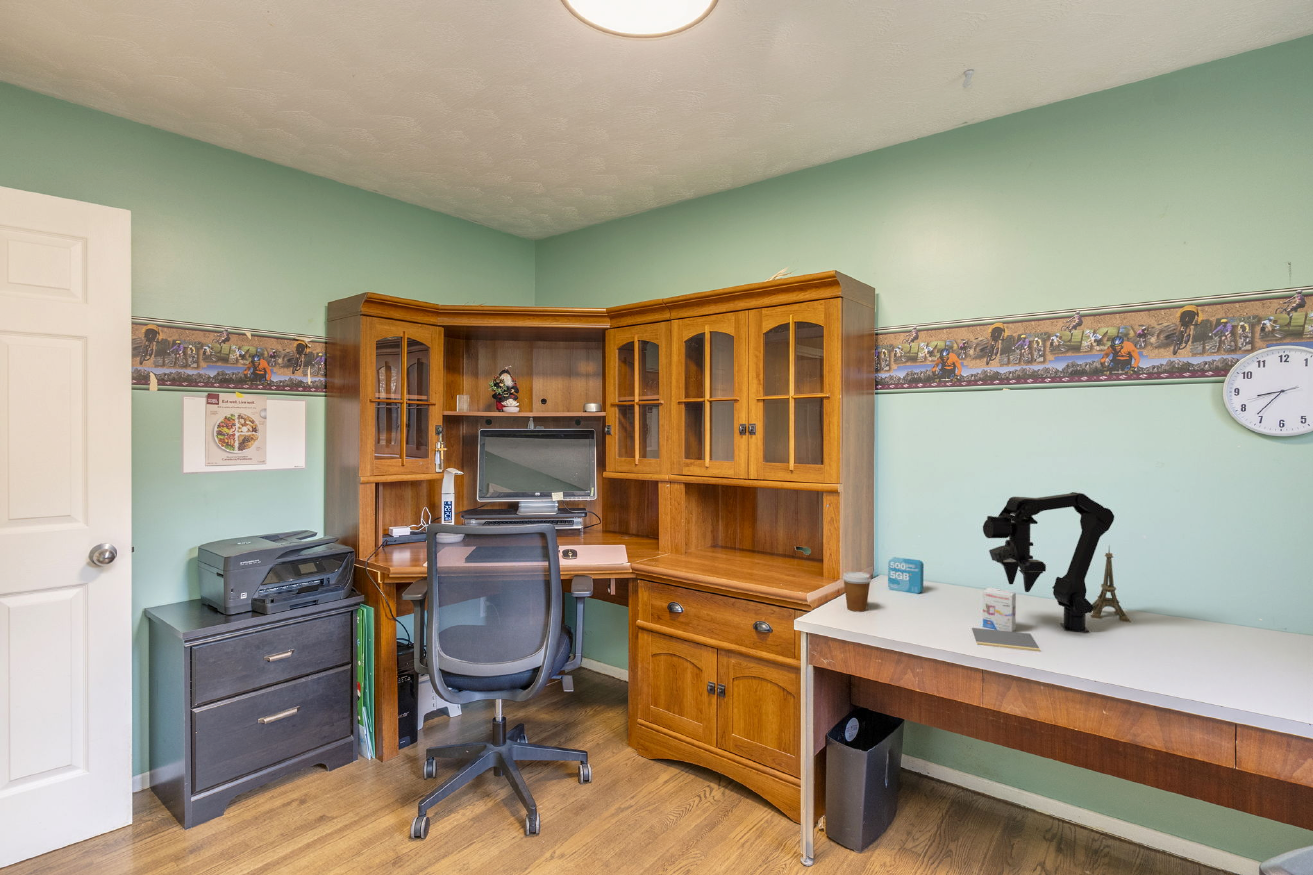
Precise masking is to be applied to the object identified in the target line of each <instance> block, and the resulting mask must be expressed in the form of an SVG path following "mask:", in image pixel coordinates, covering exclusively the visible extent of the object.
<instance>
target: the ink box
mask: <svg viewBox="0 0 1313 875" xmlns="http://www.w3.org/2000/svg"><path fill="white" fill-rule="evenodd" d="M1016 596H1017V594H1016V592H1015V591H1011V590H1006V589H998V588H994V587H986V588H984V589H983V591H982V628H984V629H990V630H1000V631H1010V632H1015V630H1016V621H1017V620H1016V616H1017V614H1016V611H1017V609H1016V605H1017V604H1016V603H1017V597H1016Z"/></svg>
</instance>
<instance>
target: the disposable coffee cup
mask: <svg viewBox="0 0 1313 875" xmlns="http://www.w3.org/2000/svg"><path fill="white" fill-rule="evenodd" d="M842 580H843V583H844V584H843V586H844V591H845V592H844V593H845V600H846V608H847V610H848V611H852V612H856V611H859V612H860V613H861V612H866V611H867V606H868V600H869V599H868V598H869V592H870V584H871V581H872V577H871V575H870V574H869V573H867V572H862V571H861V572H860V571H848V572H844V573H843V576H842ZM859 612H858V613H859Z"/></svg>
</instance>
